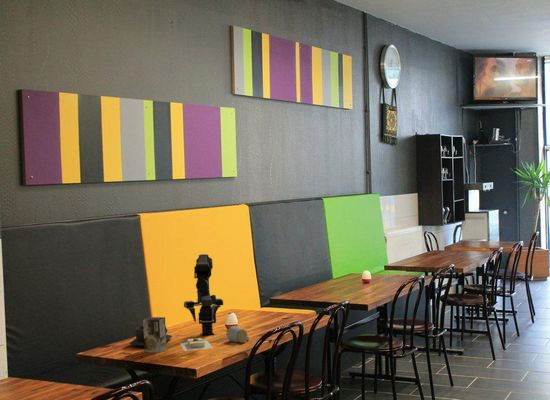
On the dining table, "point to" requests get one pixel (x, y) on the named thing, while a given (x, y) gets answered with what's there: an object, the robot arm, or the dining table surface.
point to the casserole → (140, 336)
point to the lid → (196, 343)
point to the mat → (186, 348)
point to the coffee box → (154, 334)
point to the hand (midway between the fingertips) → (204, 320)
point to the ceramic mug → (237, 334)
